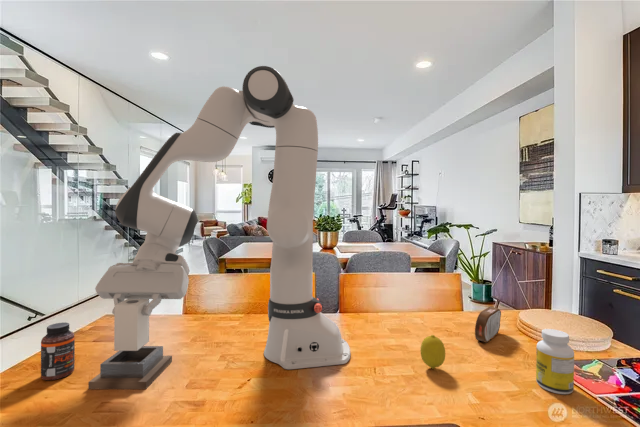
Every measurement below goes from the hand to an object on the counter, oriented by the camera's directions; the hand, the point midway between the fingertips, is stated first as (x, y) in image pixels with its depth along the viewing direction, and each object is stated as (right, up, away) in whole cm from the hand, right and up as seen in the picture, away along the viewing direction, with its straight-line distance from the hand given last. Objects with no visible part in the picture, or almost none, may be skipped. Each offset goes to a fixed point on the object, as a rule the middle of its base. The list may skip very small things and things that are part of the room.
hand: (130, 314), depth 72 cm
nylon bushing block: (0, -7, +1) cm, 7 cm away
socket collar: (0, -12, +1) cm, 12 cm away
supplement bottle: (-17, -14, +1) cm, 22 cm away
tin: (+92, -14, +22) cm, 95 cm away
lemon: (+69, -14, +4) cm, 71 cm away
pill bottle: (+92, -14, -4) cm, 93 cm away
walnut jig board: (0, -14, +1) cm, 14 cm away
